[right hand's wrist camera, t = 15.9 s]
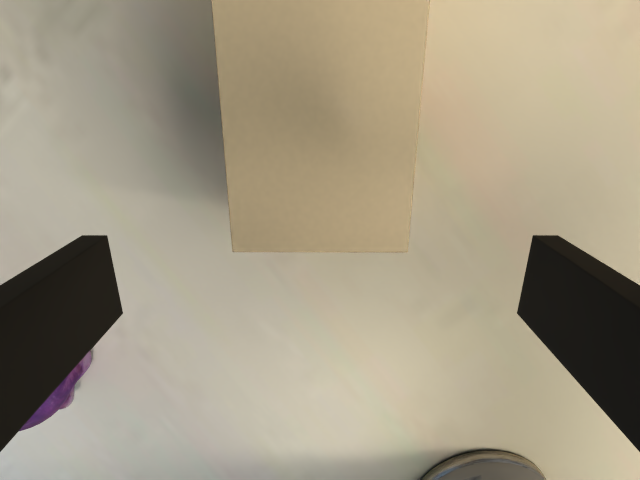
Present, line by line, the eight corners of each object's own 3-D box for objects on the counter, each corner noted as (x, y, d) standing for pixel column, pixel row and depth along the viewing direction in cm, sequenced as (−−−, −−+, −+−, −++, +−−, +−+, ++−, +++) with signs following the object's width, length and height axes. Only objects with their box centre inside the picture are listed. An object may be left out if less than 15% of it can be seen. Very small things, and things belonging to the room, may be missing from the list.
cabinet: (235, -112, 25) (193, -213, 17) (405, -112, 25) (448, -212, 17) (254, 210, 33) (232, 252, 24) (385, 210, 33) (407, 252, 24)
